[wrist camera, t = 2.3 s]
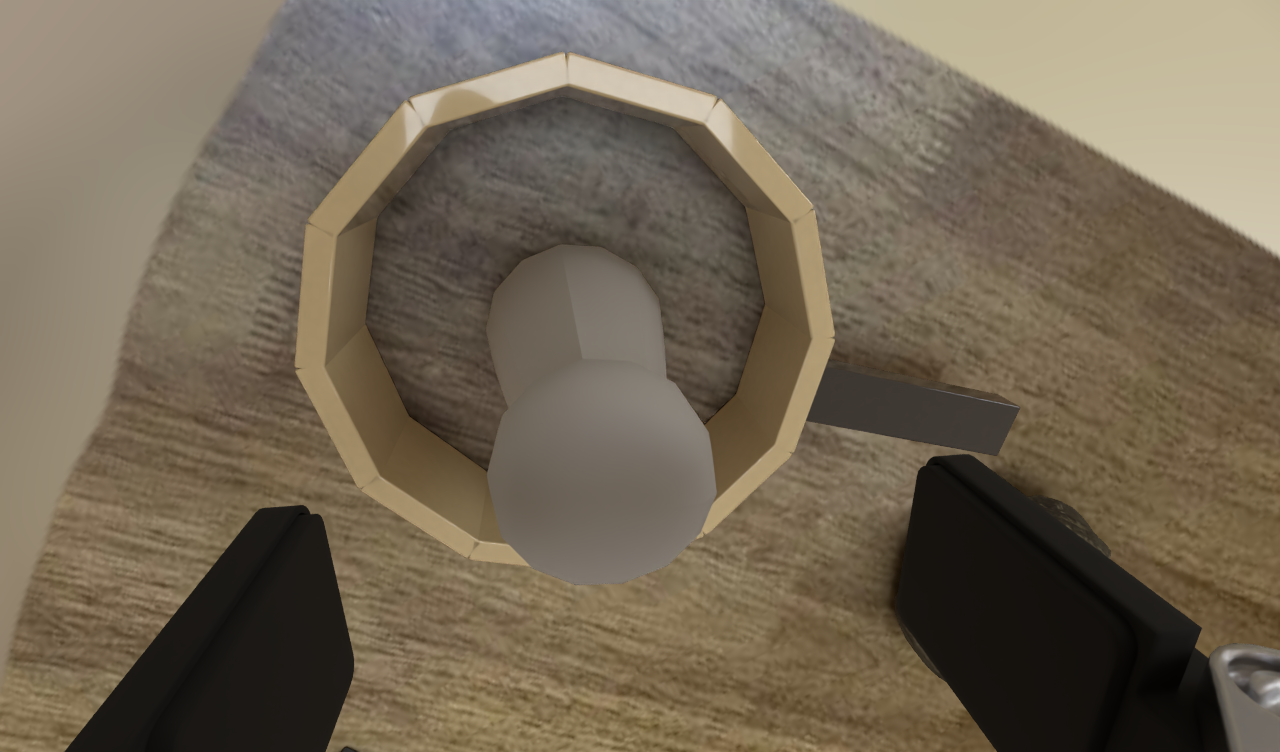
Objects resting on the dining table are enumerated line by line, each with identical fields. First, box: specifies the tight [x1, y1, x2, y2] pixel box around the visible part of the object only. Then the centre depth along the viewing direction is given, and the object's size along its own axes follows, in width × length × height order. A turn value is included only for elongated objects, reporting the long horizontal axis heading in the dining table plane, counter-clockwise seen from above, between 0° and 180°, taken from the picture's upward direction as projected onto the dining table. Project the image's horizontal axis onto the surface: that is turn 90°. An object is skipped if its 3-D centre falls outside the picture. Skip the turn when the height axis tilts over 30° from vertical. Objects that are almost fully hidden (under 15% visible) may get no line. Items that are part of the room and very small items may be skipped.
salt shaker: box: [486, 244, 717, 585], centre depth 17 cm, size 6×6×13 cm
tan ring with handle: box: [295, 52, 1020, 567], centre depth 22 cm, size 22×16×4 cm
